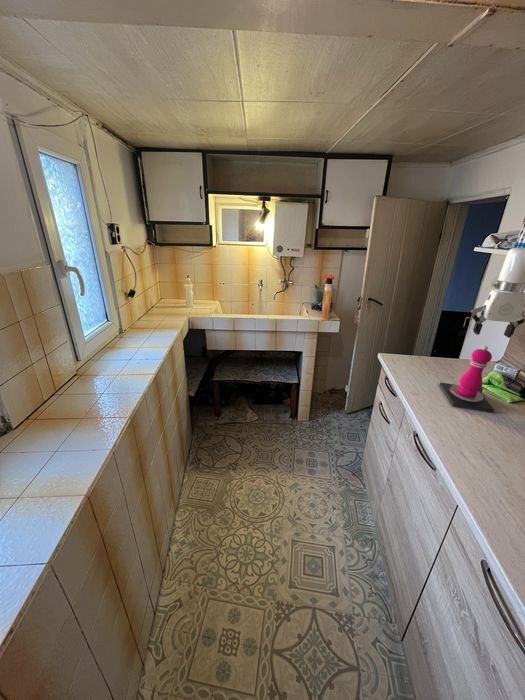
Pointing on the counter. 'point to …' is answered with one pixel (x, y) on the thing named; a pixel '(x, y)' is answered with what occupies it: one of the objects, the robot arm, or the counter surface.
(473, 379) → the pepper mill
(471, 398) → the weighing plate
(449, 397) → the scale
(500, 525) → the counter surface
